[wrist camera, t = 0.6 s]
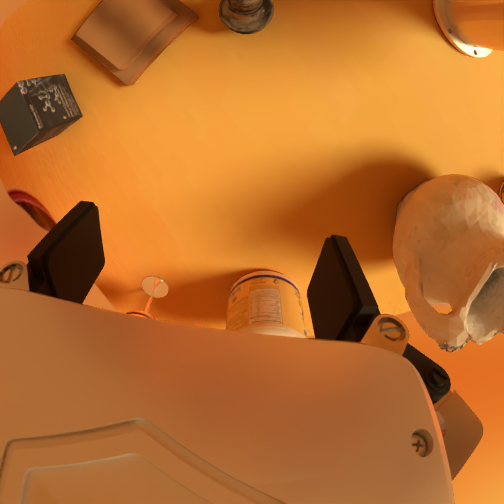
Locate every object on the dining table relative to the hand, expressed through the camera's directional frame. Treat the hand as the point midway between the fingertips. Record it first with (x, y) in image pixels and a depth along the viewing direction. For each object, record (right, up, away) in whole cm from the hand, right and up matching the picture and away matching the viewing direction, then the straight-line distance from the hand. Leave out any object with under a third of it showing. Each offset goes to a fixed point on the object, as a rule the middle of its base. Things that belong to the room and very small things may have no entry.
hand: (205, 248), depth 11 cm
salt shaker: (+1, +28, +14) cm, 31 cm away
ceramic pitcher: (+29, +6, +29) cm, 41 cm away
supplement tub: (+4, -7, +38) cm, 39 cm away
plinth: (-13, +28, +13) cm, 34 cm away
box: (-25, +21, +19) cm, 38 cm away
